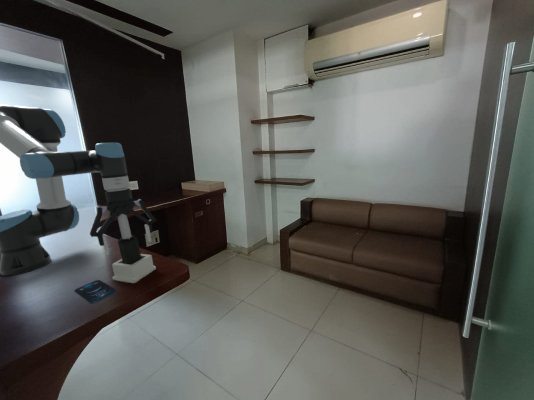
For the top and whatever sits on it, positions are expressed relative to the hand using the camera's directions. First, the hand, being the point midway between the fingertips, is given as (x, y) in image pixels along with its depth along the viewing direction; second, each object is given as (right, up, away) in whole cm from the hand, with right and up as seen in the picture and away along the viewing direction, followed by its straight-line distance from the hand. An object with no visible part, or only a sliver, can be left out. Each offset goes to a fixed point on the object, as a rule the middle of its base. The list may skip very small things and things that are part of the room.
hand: (129, 247), depth 85 cm
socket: (+1, -10, +2) cm, 11 cm away
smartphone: (-7, -14, -7) cm, 17 cm away
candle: (+1, -9, +2) cm, 10 cm away
